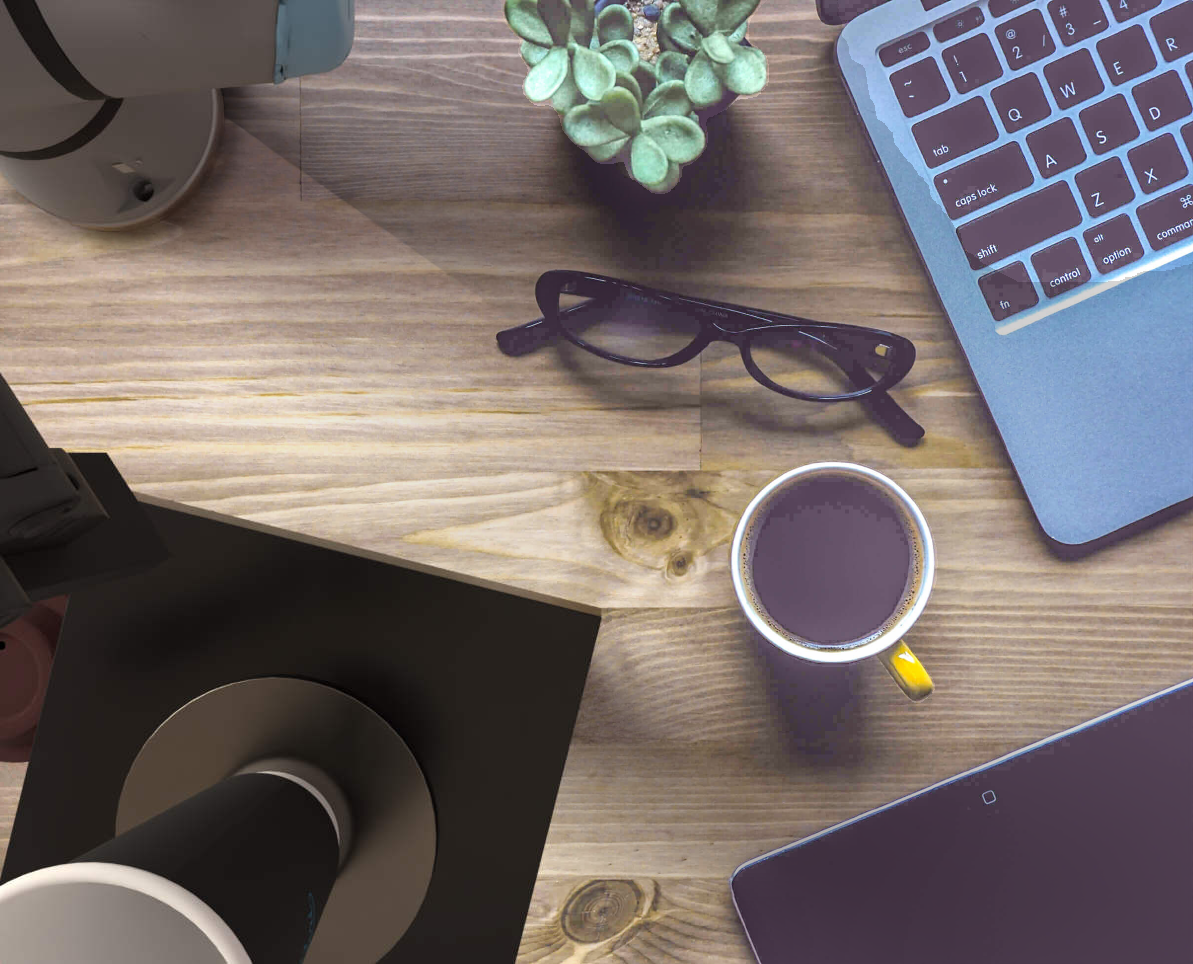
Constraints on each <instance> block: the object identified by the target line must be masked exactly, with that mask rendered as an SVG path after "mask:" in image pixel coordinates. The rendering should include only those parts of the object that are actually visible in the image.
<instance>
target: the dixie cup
mask: <svg viewBox="0 0 1193 964" xmlns="http://www.w3.org/2000/svg"><path fill="white" fill-rule="evenodd" d="M339 857H340V856H339V830H338V825H337V821H336V818H335V815H334V813H333V811H332V809H331V807H330V805H329V804H328V802H327V801H326V799H325V798H324V797H323V796H322V794H321V793H320V792H319V791H318V790H317V789H315V788H314V787H313V786H312V785H310V784H309V783H307V782H306V781H304V780H302V779H300V778H298V777H296V776H293V775H290V774H287V773H282V772H273V771H265V772H257V773H247V774H240V775H236V776H233V777H230V778H227V779H224V780H222V781H220V782H218V783H216V784H214V785H212V786H211V787H209V788H207V789H205V790H203V791H201V792H199V793H197V794H196V795H194V796H192V797H190V798H188V799H186V800H184V801H182V802H181V803H179V804H177V805H175V806H173V807H171V808H169V809H167V810H166V811H164V812H162V813H160V814H158V815H156V816H154V817H152V818H151V819H149V820H147V821H145V822H143V823H141V824H139V825H137V826H136V827H134V828H132V829H130V830H128V831H126V832H124V833H122V834H121V835H119V836H117V837H115V838H113V839H111V840H109V841H108V842H106V843H104V844H102V845H100V846H98V847H96V848H94V849H93V850H91V851H89V852H87V853H85V854H83V855H81V856H79V857H78V858H76V859H74V860H72V861H70V862H68V863H66V864H63V865H58V866H53V867H49V868H44V869H40V870H37V871H34V872H31V873H28V874H25V875H23V876H20V877H18V878H16V879H14V880H11V881H9V882H7V883H5V884H4V885H2V886H0V964H302V963H303V961H304V958H305V956H306V953H307V951H308V948H309V946H310V943H311V941H312V938H313V936H314V933H315V931H316V928H317V926H318V923H319V921H320V918H321V916H322V913H323V911H324V908H325V906H326V903H327V901H328V898H329V896H330V893H331V891H332V888H333V886H334V883H335V880H336V877H337V873H338V868H339Z"/></svg>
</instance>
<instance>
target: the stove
mask: <svg viewBox="0 0 1193 964" xmlns="http://www.w3.org/2000/svg"><path fill="white" fill-rule="evenodd" d="M131 491H132V492H133V494H134V496H135V497H136V499H137V500H138V502H139V503H140V505H141V506H142V508H143V510H144V511H145V513H146V514H147V516H148V517H149V519H150V520H151V522H152V523H153V525H154V527H155V528H156V530H157V531H158V533H159V534H160V536H161V537H162V539H163V541H164V542H165V544H166V545H167V547H168V548H169V550H170V551H171V553H172V555H173V556H171V557H170V558H168V559H166V560H165V561H163V562H162V563H160V564H159V565H157V566H155V567H154V568H152V569H151V570H149V571H147V572H146V573H144V574H140V575H136V576H132V577H129V578H125V579H121V580H117V581H114V582H110V583H106V584H102V585H99V586H95V587H91V588H87V589H83V590H80V591H76V592H72V593H69V598H68V602H67V606H66V610H65V614H64V618H63V622H62V626H61V630H60V635H59V639H58V643H57V647H56V651H55V655H54V659H53V663H52V667H51V672H50V676H49V680H48V684H47V688H46V692H45V696H44V700H43V704H42V708H41V713H40V717H39V721H38V725H37V729H36V733H35V737H34V741H33V745H32V750H31V754H30V758H29V762H27V766H26V770H25V775H24V778H23V783H22V787H21V791H20V795H19V799H18V803H17V807H16V811H15V816H14V820H13V824H12V828H11V831H10V835H9V840H8V844H7V848H6V852H5V853H6V854H5V856H4V861H3V864H2V870H1V873H0V886H2V885H4V884H5V883H7V882H9V881H11V880H14V879H16V878H18V877H20V876H23V875H25V874H28V873H31V872H34V871H37V870H40V869H44V868H49V867H53V866H58V865H63V864H66V863H68V862H70V861H72V860H74V859H76V858H78V857H79V856H81V855H83V854H85V853H87V852H89V851H91V850H93V849H94V848H96V847H98V846H100V845H102V844H104V843H106V842H108V841H109V840H111V839H113V838H115V837H117V836H119V835H121V834H122V833H124V832H126V831H128V830H130V829H132V828H134V827H136V826H137V825H139V824H141V823H143V822H145V821H147V820H149V819H151V818H152V817H154V816H156V815H158V814H160V813H162V812H164V811H166V810H167V809H169V808H171V807H173V806H175V805H177V804H179V803H181V802H182V801H184V800H186V799H188V798H190V797H192V796H194V795H196V794H197V793H199V792H201V791H203V790H205V789H207V788H209V787H211V786H212V785H214V784H216V783H218V782H220V781H222V780H224V779H227V778H230V777H233V776H236V775H240V774H247V773H257V772H265V771H273V772H282V773H287V774H290V775H293V776H296V777H298V778H300V779H302V780H304V781H306V782H307V783H309V784H310V785H312V786H313V787H314V788H315V789H317V790H318V791H319V792H320V793H321V794H322V796H323V797H324V798H325V799H326V801H327V802H328V804H329V805H330V807H331V809H332V811H333V813H334V815H335V818H336V821H337V825H338V830H339V856H340V857H339V868H338V873H337V877H336V880H335V883H334V886H333V888H332V891H331V893H330V896H329V898H328V901H327V903H326V906H325V908H324V911H323V913H322V916H321V918H320V921H319V923H318V926H317V928H316V931H315V933H314V936H313V938H312V941H311V943H310V946H309V948H308V951H307V953H306V956H305V958H304V961H303V963H302V964H516V962H517V958H518V955H519V949H520V946H521V942H522V939H523V935H524V931H525V927H526V923H527V920H528V919H527V918H528V914H529V912H530V911H529V909H530V907H531V902H532V898H533V895H534V890H535V887H536V886H535V885H536V882H537V879H538V875H539V870H540V867H541V863H542V858H543V855H544V851H545V847H546V843H547V839H548V835H549V831H550V826H551V822H552V819H553V814H554V811H555V808H556V807H555V806H556V803H557V799H558V796H559V790H560V788H561V787H560V786H561V783H562V779H563V775H564V771H565V766H566V762H567V759H568V754H569V750H570V748H571V747H570V746H571V743H572V739H573V735H574V730H575V727H576V723H577V719H578V715H579V711H580V706H581V703H582V699H583V695H584V691H585V687H586V683H587V679H588V675H589V671H590V667H591V663H592V659H593V655H594V651H595V646H596V643H597V640H598V639H597V638H598V636H599V635H598V634H599V631H600V627H601V623H602V619H603V618H602V617H603V612H602V611H603V610H602V609H603V608H601V607H598V606H594V605H590V604H585V603H581V602H578V601H575V600H571V599H567V598H562V597H559V596H553V595H550V594H545V593H543V592H542V593H541V592H538V591H534V590H531V589H525V588H522V587H518V586H514V585H510V584H505V583H502V582H498V581H494V580H491V579H486V578H482V577H478V576H474V575H470V574H465V573H463V572H458V571H454V570H450V569H446V568H442V567H439V566H434V565H430V564H425V563H422V562H419V561H414V560H409V559H405V558H402V557H398V556H394V555H390V554H386V553H382V552H378V551H374V550H370V549H366V548H361V547H358V546H354V545H349V544H345V543H341V542H338V541H335V540H330V539H326V538H322V537H319V536H313V535H310V534H305V533H302V532H298V531H294V530H290V529H286V528H283V527H282V528H281V527H278V526H274V525H270V524H266V523H263V522H259V521H254V520H250V519H247V518H242V517H238V516H234V515H230V514H225V513H221V512H219V511H213V510H210V509H207V508H203V507H198V506H194V505H190V504H186V503H182V502H178V501H174V500H170V499H166V498H162V497H158V496H154V495H150V494H147V493H142V492H137V491H134V490H131Z"/></svg>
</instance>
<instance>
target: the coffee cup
mask: <svg viewBox="0 0 1193 964" xmlns="http://www.w3.org/2000/svg"><path fill="white" fill-rule="evenodd" d="M68 598H69V593H68V594H65V595H61V596H57V597H53V598H50V599H46V600H42V601H38V602H35V603H32V604H33V608H32V609H31V610H30V611H28V612H27V613H26V614H25V615H23V616H22V617H20V618H19V619H17V620H16V621H14V622H13V623H11V624H9V625H7V626H5V627H4V628H2V629H0V762H1V763H8V764H9V763H10V764H20V763H28V762H29V758H30V754H31V750H32V745H33V741H34V737H35V733H36V729H37V725H38V721H39V717H40V713H41V708H42V704H43V700H44V696H45V692H46V688H47V684H48V680H49V676H50V672H51V667H52V663H53V659H54V655H55V651H56V647H57V643H58V639H59V635H60V630H61V626H62V622H63V618H64V614H65V610H66V606H67V602H68Z"/></svg>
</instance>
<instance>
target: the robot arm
mask: <svg viewBox="0 0 1193 964" xmlns="http://www.w3.org/2000/svg"><path fill="white" fill-rule="evenodd" d="M355 5H356V4H355V0H0V174H1V175H2V176H3V177H4V178H5V179H6V181H7V182H8V183H9V184H10V185H11V186H12V187H13V188H14V190H16V191H17V193H18V194H20V195H21V196H22V197H23V198H24V199H25V200H27V201H28V202H29V203H30V204H32V205H33V206H35V207H36V208H38V209H40V210H42V211H44V212H45V213H47V214H49V215H51V216H54V217H56V218H58V219H60V220H62V221H65V222H67V223H69V224H70V225H71V224H72V225H75V226H77V227H80V228H84V229H88V230H93V231H101V232H123V231H130V230H135V229H140V228H142V227H147V226H150V225H152V224H155V223H158V222H160V221H162V220H163V219H165V218H167V217H169V216H171V215H173V214H174V213H175V212H177V211H178V210H180V209H181V208H182V207H183V206H185V205H186V204H187V203H188V202H189V201H191V199H193V197H194V196H195V195H196V194H197V193H198V192H199V191H200V189H201V188H202V187H203V185H204V184H205V182H206V181H207V179H208V178H209V176H210V174H211V172H212V170H213V168H214V166H215V164H216V163H217V162H216V161H217V160H218V157H219V154H220V150H221V147H222V143H223V138H224V130H225V105H224V99H223V94H222V93H223V92H222V89H225V88H237V87H245V86H255V85H266V84H273V85H274V86H279V85H282V84H284V83H285V82H286V81H287V80H288V79H294V78H295V79H297V78H301V77H307V76H312V75H313V76H314V75H319V74H324V73H325V74H326V73H329V72H332V71H334V70H336V69H338V68H339V67H340V66H342V64H343V63H344V62H345V61H346V60H347V59H348V57H349V56H350V54H351V51H352V48H353V44H354V39H355V27H356V10H355V9H356V7H355ZM132 491H133V490H132V489H131V488H130V486H129V484H128V483H127V481H126V480H125V478H124V477H123V476H122V474H121V472H120V471H119V469H118V467H117V466H116V465H115V463H114V462H113V460H112V458H111V457H110V455H109V453H108V452H105V451H104V452H101V451H100V452H99V451H97V452H95V451H94V452H91V451H90V452H85V451H83V452H80V451H79V452H73V451H72V452H69V451H66V450H64V449H63V448H62V447H50V446H49V445H48V443H47V442H46V440H45V439H44V437H43V435H42V434H41V433H40V431H39V430H38V427H36V425H35V423H34V421H32V419H31V417H30V415H29V414H28V412H27V411H26V409H25V408H24V406H23V404H22V403H21V401H20V400H19V398H18V397H17V395H16V393H15V392H14V390H12V388H11V386H10V385H9V383H8V382H7V380H6V379H5V377H4V376H3V374H2V372H0V629H2V628H4V627H5V626H7V625H9V624H11V623H13V622H14V621H16V620H17V619H19V618H20V617H22V616H23V615H25V614H26V613H27V612H28V611H30V610H31V609H32V608H33V604H32V603H35V602H38V601H42V600H46V599H50V598H53V597H57V596H61V595H65V594H68V593H72V592H76V591H80V590H83V589H87V588H91V587H95V586H99V585H102V584H106V583H110V582H114V581H117V580H121V579H125V578H129V577H132V576H136V575H140V574H144V573H146V572H147V571H149V570H151V569H152V568H154V567H155V566H157V565H159V564H160V563H162V562H163V561H165V560H166V559H168V558H170V557H171V556H173V555H172V553H171V551H170V550H169V548H168V547H167V545H166V544H165V542H164V541H163V539H162V537H161V536H160V534H159V533H158V531H157V530H156V528H155V527H154V525H153V523H152V522H151V520H150V519H149V517H148V516H147V514H146V513H145V511H144V510H143V508H142V506H141V505H140V503H139V502H138V500H137V499H136V497H135V496H134V494H133V492H132Z"/></svg>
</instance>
